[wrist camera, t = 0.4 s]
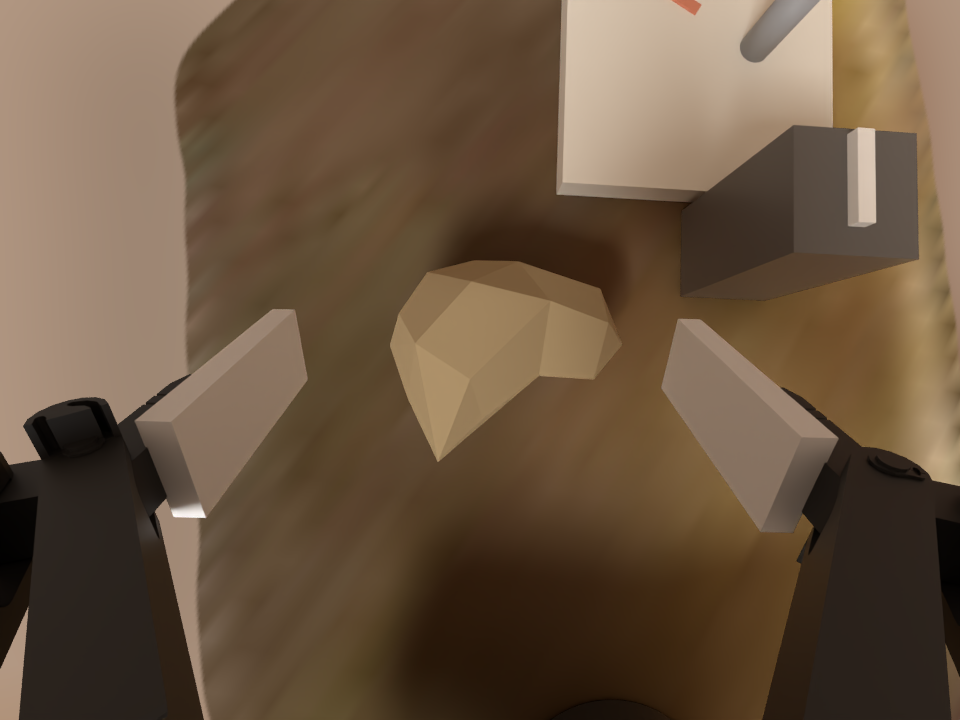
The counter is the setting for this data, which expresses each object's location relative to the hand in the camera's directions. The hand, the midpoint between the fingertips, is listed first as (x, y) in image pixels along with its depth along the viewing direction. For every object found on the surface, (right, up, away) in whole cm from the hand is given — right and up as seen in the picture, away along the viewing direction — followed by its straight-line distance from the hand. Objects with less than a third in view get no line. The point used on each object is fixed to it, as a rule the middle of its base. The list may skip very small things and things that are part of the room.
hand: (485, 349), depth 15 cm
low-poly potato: (+1, 0, +17) cm, 17 cm away
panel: (+16, +20, +19) cm, 31 cm away
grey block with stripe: (+18, +8, +18) cm, 27 cm away
